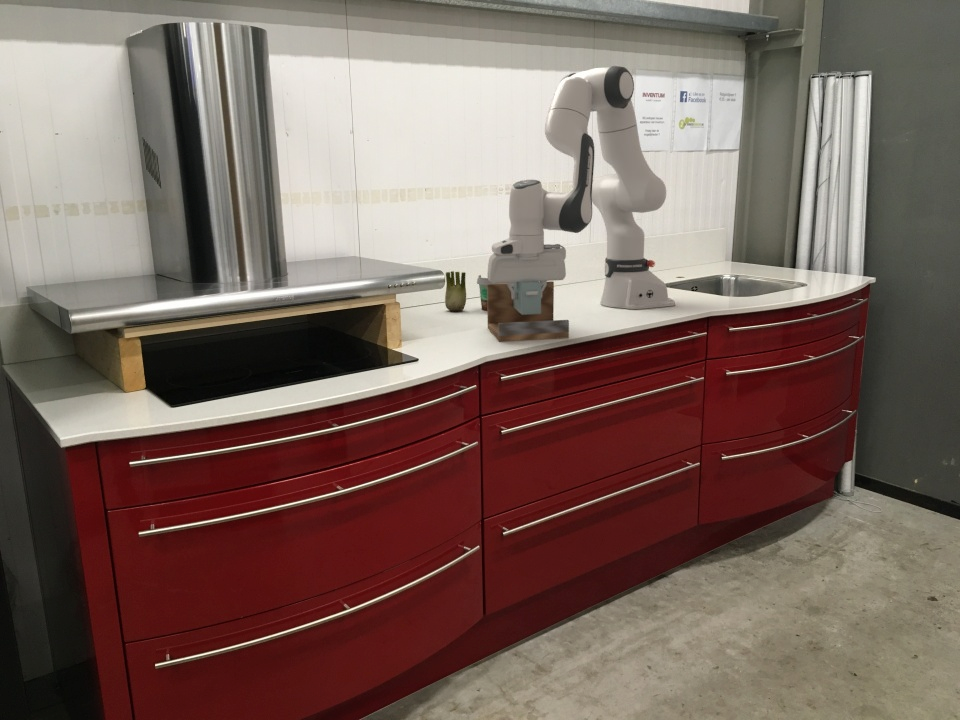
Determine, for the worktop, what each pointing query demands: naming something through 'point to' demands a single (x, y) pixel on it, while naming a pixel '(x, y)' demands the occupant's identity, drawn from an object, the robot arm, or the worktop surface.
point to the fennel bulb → (455, 291)
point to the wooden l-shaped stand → (522, 316)
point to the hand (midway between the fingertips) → (526, 298)
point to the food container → (483, 291)
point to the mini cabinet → (528, 297)
